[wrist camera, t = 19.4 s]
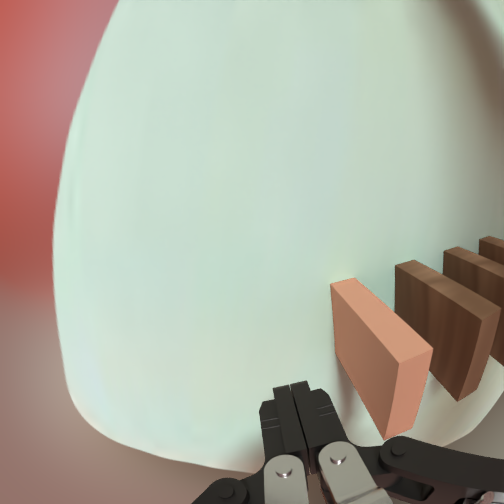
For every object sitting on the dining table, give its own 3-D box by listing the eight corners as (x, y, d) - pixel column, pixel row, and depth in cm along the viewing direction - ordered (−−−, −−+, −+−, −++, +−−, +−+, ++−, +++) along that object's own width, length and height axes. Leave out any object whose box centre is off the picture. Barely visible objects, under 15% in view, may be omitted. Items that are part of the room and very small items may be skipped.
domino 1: (393, 332, 17) (457, 402, 9) (394, 265, 16) (482, 319, 8) (410, 326, 17) (476, 389, 10) (413, 259, 16) (501, 308, 8)
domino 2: (438, 314, 17) (505, 367, 10) (443, 250, 16) (527, 290, 8) (452, 308, 17) (518, 356, 10) (457, 246, 16) (538, 281, 8)
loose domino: (335, 352, 17) (383, 440, 9) (330, 283, 16) (399, 363, 8) (356, 346, 17) (412, 427, 9) (354, 277, 16) (433, 348, 8)
